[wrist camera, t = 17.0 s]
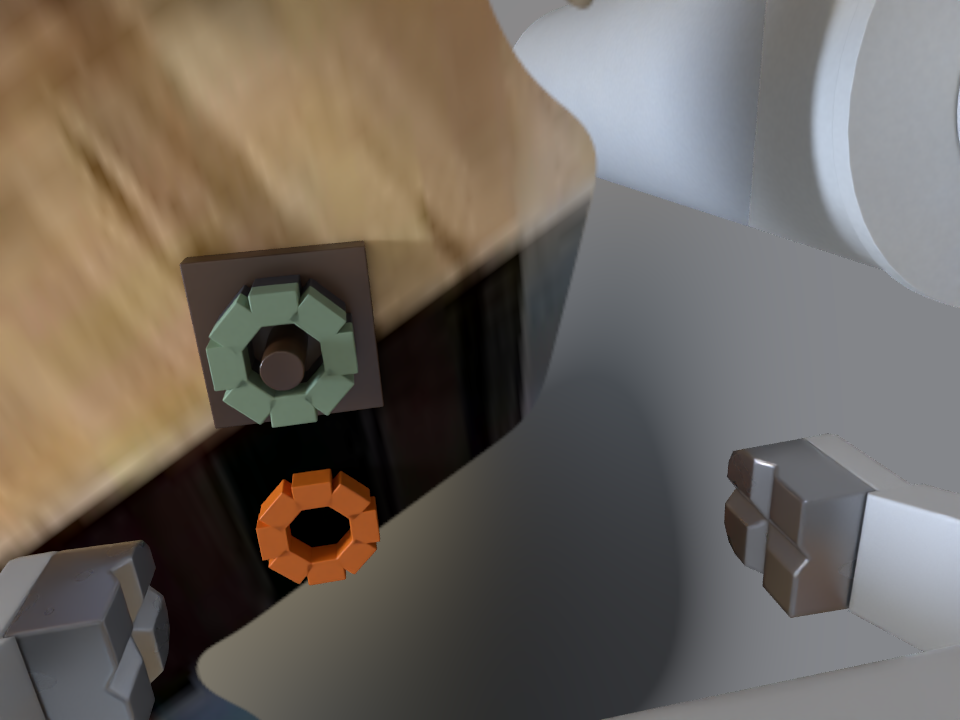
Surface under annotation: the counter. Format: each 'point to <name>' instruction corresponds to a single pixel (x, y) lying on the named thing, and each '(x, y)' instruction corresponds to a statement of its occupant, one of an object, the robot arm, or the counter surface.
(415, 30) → the counter surface
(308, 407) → the sage ring
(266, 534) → the orange ring
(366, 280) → the spindle
